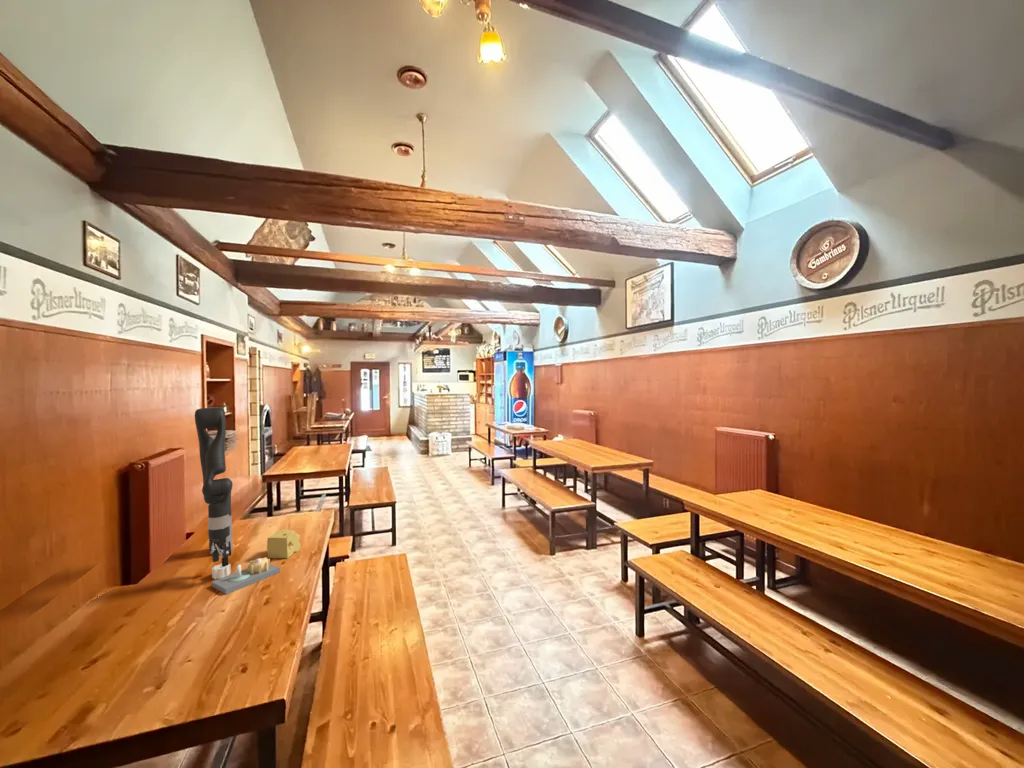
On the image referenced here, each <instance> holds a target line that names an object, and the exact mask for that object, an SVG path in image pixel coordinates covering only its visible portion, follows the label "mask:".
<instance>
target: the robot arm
mask: <svg viewBox="0 0 1024 768" xmlns="http://www.w3.org/2000/svg"><path fill="white" fill-rule="evenodd" d="M226 418H227V417H226V412H225V409H224V408H223V407H222V406H212V407H204V408H203V407H202V408H198V409H196V410H195V411H194V423H195V428H196V434H197V439H198V446H199V448H198V449H199V458H200V459H199V461H200V466H201V472H202V473H201V474H202V488H201V493H202V495H203V500H204V502H205V504H207V505H208V506H207V509H208V511H207V512H208V514H207V516H208V519H207V529H208V531H207V532H208V547H209V548H208V550H209V554H210V555H211V557H212V559H211V560H212V562H213V563H217V562H219V561H220V557H221V564H222V566H223V567H224V566H227V565H228V563H229V557H231V555H232V550H233V549H234V546H233V545H234V544H233V542H234V541H233V522H232V521H233V517H232V515H233V514H232V490H233V485H234V484H233V481H232V479H230V477H229V478H228V477H223V478H217V479H215V477H216V476H218V475H221V474H223V473H225V472H226V470H227V465H226V453H225V452H226V451H225V448H226V433H227V429H226V428H227V427H226V424H227V423H226V422H227V419H226ZM215 428H216V429H217V431H216V434H215V437H214V438H213V437H212V436H211V435H210V434H209V432H208V431H207V429H208V430H209V429H215Z"/></svg>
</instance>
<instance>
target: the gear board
mask: <svg viewBox="0 0 1024 768" xmlns="http://www.w3.org/2000/svg"><path fill="white" fill-rule="evenodd" d="M280 571H281V568H280V567H279V566H276V565H275V564H272V563H271V558H268V556H267V557H266V556H265V557H258V558H256V559H253V560H250V561H249V563H247V568H244V569H242V565H241V564H238V565H236V571H235V572H234V573H231V574H229V575H228V576H226V577H223V578H219V579H214V580H212V581H211V587H212V588H213V589H216V590H217V591H219V592H221V593H223V594H225V595H228V594H230V593H231V594H232V593H233V592H235V591H238V590H240V589H242V588H246V587H248V586H250V585H253V584H255V583H258V582H260V581H262V580H265V579H267V578H270V577H271V576H275V575H277V574H279V573H281V572H280Z"/></svg>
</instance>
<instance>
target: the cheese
mask: <svg viewBox="0 0 1024 768" xmlns="http://www.w3.org/2000/svg"><path fill="white" fill-rule="evenodd" d="M300 539H301V535H300V534H299V533H297V532H296V531H295V530H293V529H287V528H286V529H284V528H283V529H279V530H277V531H276V532H275V533H274V534H272V535H269V536H268V537H267V540H266V549H267V559H289V558H290V557H291V556H293V555H294V553H295V554H296V553H298V552H299V551H301V549H302V548H301V547H302V544H301V542H300Z"/></svg>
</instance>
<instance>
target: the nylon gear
mask: <svg viewBox="0 0 1024 768" xmlns="http://www.w3.org/2000/svg"><path fill="white" fill-rule="evenodd" d="M231 574H232V567H231V563H229V562H228V565H227V566H224V567H223V566H222V563H219V564H217V565H213V567H211V578H212V579H213V580H218V579H220V578H223V577H226V576H228V575H231Z"/></svg>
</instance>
